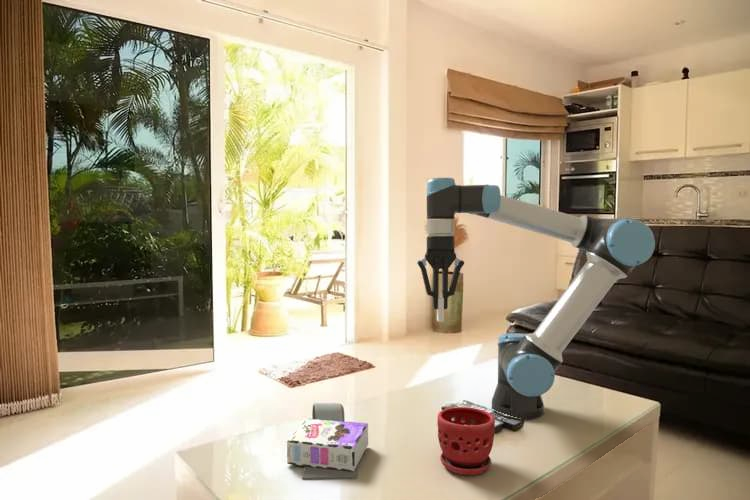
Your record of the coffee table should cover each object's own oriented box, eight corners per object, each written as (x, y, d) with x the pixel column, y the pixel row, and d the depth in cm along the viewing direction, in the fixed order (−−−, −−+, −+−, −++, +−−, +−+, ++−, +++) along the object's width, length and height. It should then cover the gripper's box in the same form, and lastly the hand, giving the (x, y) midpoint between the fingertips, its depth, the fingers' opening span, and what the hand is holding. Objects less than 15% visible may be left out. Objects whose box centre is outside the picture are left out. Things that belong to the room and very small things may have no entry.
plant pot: (505, 474, 113) (505, 422, 112) (451, 483, 109) (452, 429, 108) (477, 449, 125) (477, 402, 124) (428, 456, 121) (428, 408, 121)
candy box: (354, 447, 113) (285, 440, 116) (355, 472, 113) (286, 465, 116) (368, 422, 126) (306, 417, 130) (368, 445, 127) (306, 439, 130)
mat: (357, 445, 127) (357, 444, 127) (356, 478, 111) (356, 476, 111) (309, 446, 127) (309, 445, 127) (302, 479, 111) (302, 477, 111)
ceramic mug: (345, 434, 134) (345, 406, 134) (315, 437, 132) (314, 409, 132) (338, 419, 144) (338, 393, 144) (310, 422, 142) (309, 396, 142)
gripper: (461, 234, 140) (461, 317, 142) (415, 234, 140) (415, 318, 142) (467, 235, 133) (466, 323, 134) (418, 235, 133) (418, 323, 134)
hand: (440, 320), depth 138 cm, fingers closed
